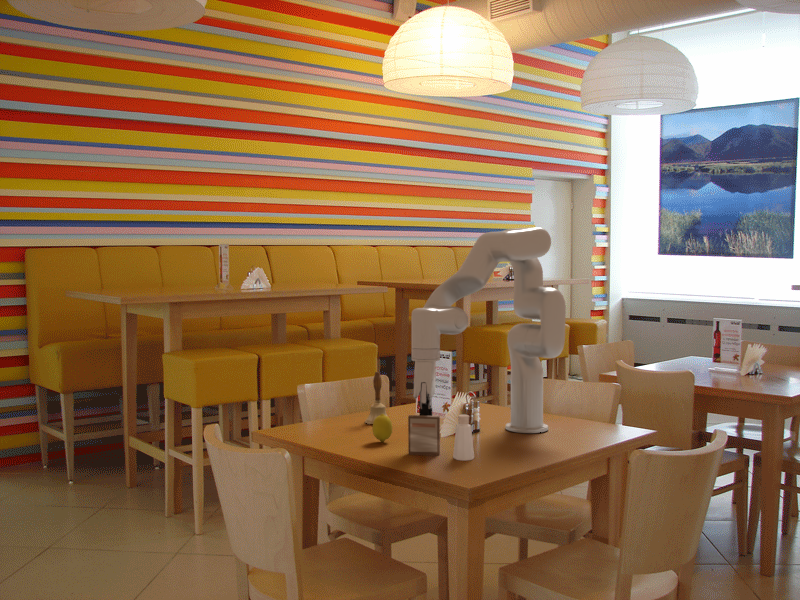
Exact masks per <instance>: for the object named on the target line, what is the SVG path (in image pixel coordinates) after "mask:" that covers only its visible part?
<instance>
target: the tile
mask: <svg viewBox="0 0 800 600" xmlns="http://www.w3.org/2000/svg"><path fill="white" fill-rule="evenodd" d="M440 416H441V415H432V416H423V415H420V414H419V415H418V414H416V415H415V414H409V415H408V418H407V420H408V421H407V422H408V424H407V425H408V429H407V430H408V432H407V433H408V434H407V437H408V440H407V441H408V442H407V443H408V450H407V451H408V452H407V453H408V454H409V456H410V455H411V456H433V457H434V456H440V453H441V450H440V449H441V444H440V443H441V432H440V431H441V428H440V427H441V422H440V421H441V417H440Z"/></svg>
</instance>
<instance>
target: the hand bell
mask: <svg viewBox="0 0 800 600" xmlns="http://www.w3.org/2000/svg"><path fill="white" fill-rule="evenodd" d="M372 383H373V388H374V393H375V394H374V395H375V396H374V398H375V399H374V400H375V401H374V403H372V404H371V406H370V411H369V415H368V417H367V418H366V419H365V420H364V424H366V423H367V424H366V425H370V424H373V422H374V420H375V418H376V417H377V416H379V415H381V414H384V415H386V416H387V417H388V414H387V412H386V406H385V404H383V403H382V402H381V400H382V399H381V389H382V383H383V382H382V377H381V374H380V372H379V371H375V372H374V376H373V381H372Z"/></svg>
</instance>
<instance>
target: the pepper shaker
mask: <svg viewBox="0 0 800 600" xmlns="http://www.w3.org/2000/svg"><path fill="white" fill-rule="evenodd" d="M457 418H458V421H457V422H458V423H457V425H456V427H455V436H454V444H453V453H452V454H453V455H452V458H453V459H454V460H456V461H463V462H464V461H472V460H474V458H475V451H474V450H475V449H474V443H473V442H474V441H473V433H472V425H471V424H469V423H470V415H468V414H466V413H465V414H459V415H458V416H457Z"/></svg>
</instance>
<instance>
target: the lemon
mask: <svg viewBox="0 0 800 600" xmlns="http://www.w3.org/2000/svg"><path fill="white" fill-rule="evenodd" d="M391 420H392V419H390V417H389V416H388V415H387V416H386V415H384V414H381V415H379V416H377V417H376V418H375V420H374V422H373V425H372V434H373V436H374V437H375V438H376V440H378V441H380V443H384V442H385V441H387V440H388V439H390V438H391V435H392V433H393V424H392V421H391Z"/></svg>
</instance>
